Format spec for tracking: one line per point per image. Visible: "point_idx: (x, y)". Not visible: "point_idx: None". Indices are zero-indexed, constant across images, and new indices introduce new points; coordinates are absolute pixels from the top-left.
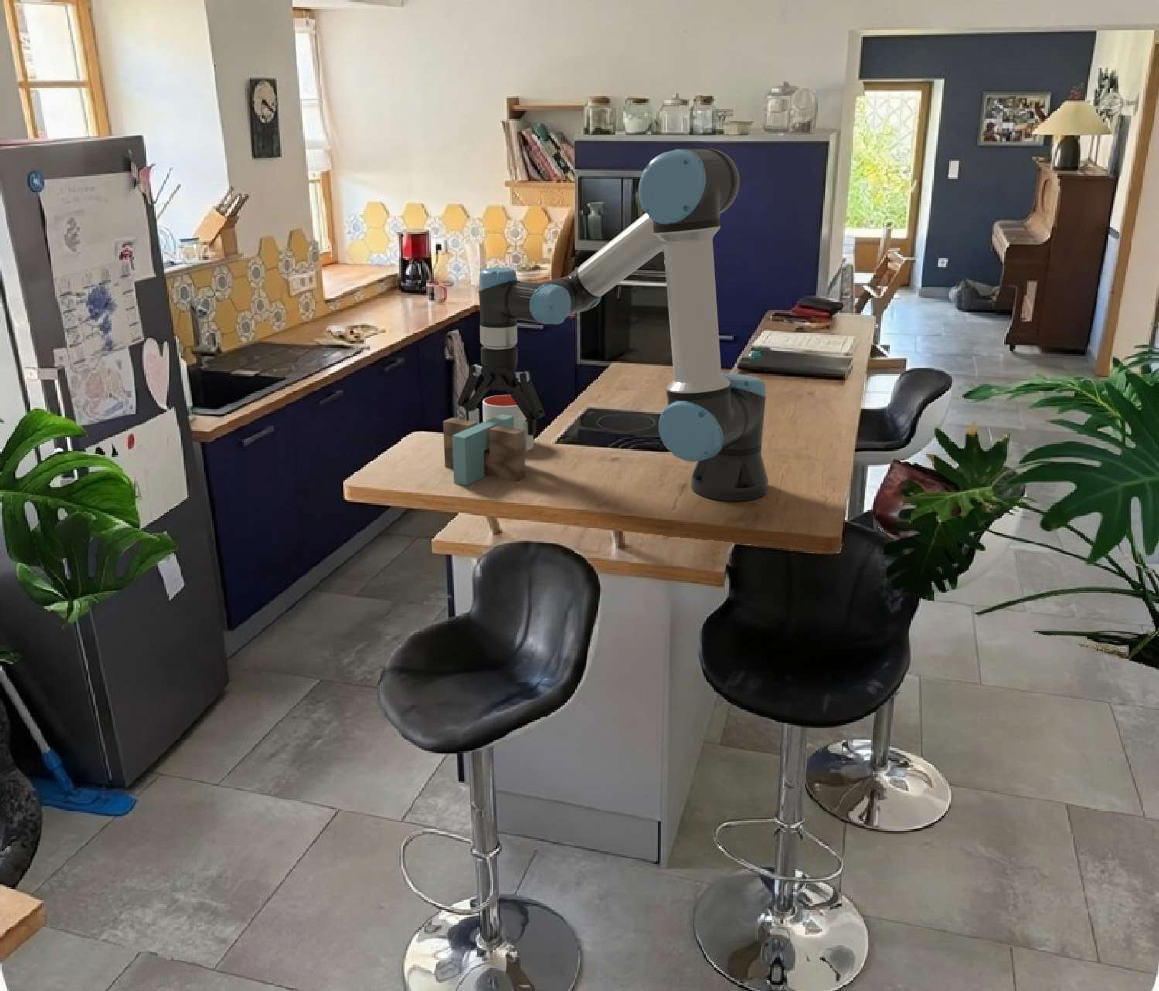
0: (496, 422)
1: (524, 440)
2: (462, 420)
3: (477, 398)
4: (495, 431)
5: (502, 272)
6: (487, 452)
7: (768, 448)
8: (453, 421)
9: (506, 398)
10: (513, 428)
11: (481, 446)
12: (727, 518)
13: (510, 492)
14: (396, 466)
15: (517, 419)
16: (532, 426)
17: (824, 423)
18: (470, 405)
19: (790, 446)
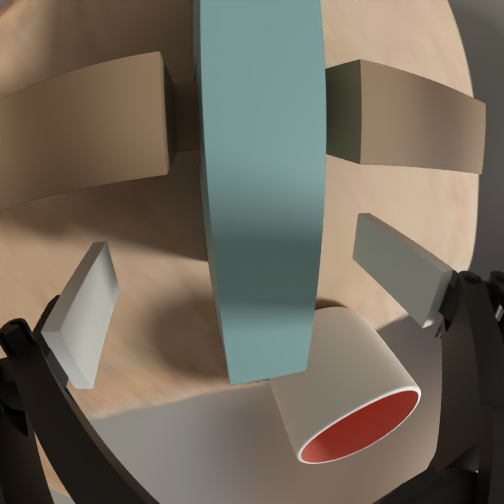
0: (232, 240)
1: (87, 263)
2: (439, 154)
3: (473, 337)
4: (100, 66)
5: None
6: None
7: None
8: (460, 115)
9: (369, 436)
10: (28, 200)
11: (196, 33)
12: None
13: (42, 38)
14: (442, 64)
15: (292, 402)
16: (37, 325)
17: (62, 490)
18: (469, 292)
19: None
